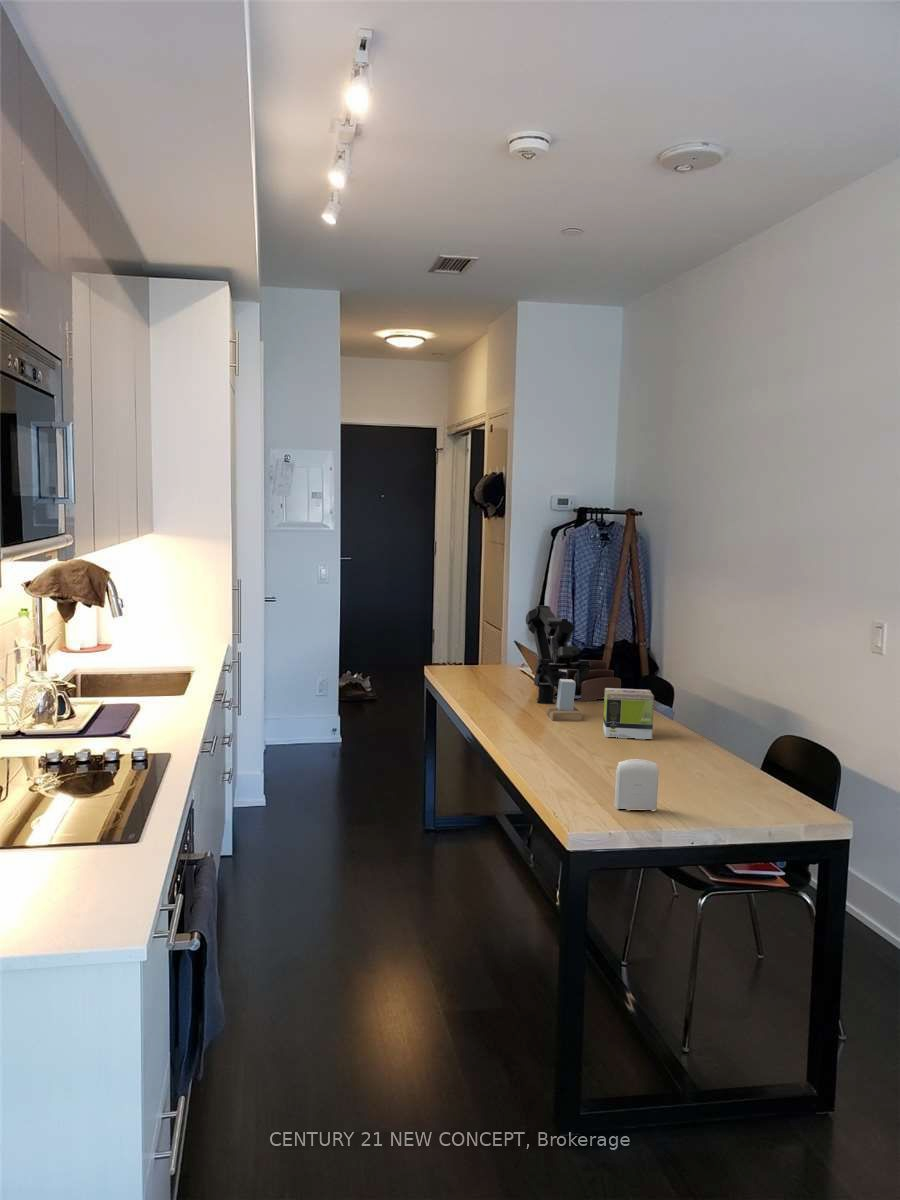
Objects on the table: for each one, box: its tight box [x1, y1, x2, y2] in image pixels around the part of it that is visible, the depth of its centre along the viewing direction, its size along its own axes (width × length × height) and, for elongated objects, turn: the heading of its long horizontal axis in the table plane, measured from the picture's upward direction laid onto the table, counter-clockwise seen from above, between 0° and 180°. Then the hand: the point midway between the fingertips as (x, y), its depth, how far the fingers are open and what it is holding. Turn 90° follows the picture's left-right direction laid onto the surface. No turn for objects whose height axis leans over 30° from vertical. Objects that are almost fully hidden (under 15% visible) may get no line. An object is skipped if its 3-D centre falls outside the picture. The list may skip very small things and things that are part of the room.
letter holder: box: [565, 659, 622, 703], centre depth 343 cm, size 10×20×14 cm, turn 121°
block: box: [545, 705, 583, 723], centre depth 308 cm, size 10×10×4 cm
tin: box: [555, 678, 576, 711], centre depth 307 cm, size 4×5×10 cm
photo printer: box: [614, 758, 660, 810], centre depth 216 cm, size 10×4×12 cm, turn 88°
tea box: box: [602, 688, 655, 740], centre depth 287 cm, size 15×10×15 cm, turn 84°
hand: (566, 687), depth 306 cm, fingers open, 9 cm apart
